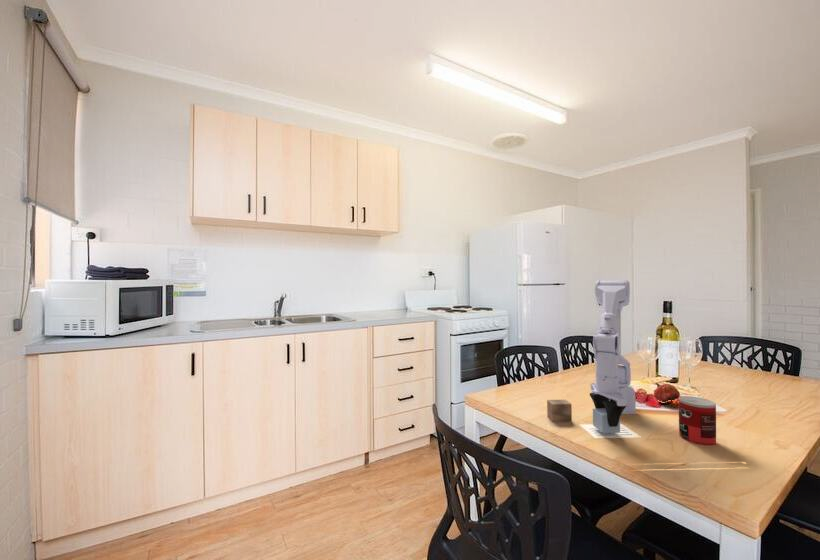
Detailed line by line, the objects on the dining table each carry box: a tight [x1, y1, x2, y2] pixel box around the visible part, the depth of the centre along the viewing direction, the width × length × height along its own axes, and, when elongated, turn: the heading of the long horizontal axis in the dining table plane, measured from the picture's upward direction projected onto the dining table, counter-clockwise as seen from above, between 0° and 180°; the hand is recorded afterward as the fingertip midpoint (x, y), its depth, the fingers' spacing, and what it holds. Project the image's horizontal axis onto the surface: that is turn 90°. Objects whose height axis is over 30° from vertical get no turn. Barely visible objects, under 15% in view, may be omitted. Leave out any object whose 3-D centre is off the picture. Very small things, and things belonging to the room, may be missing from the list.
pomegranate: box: [653, 382, 681, 403], centre depth 124 cm, size 7×7×10 cm
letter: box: [579, 423, 641, 439], centre depth 103 cm, size 13×9×1 cm
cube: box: [592, 408, 621, 433], centre depth 101 cm, size 5×5×5 cm
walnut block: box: [546, 399, 573, 423], centre depth 111 cm, size 6×4×6 cm, turn 91°
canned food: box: [678, 395, 717, 446], centre depth 97 cm, size 8×8×11 cm
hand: (607, 422), depth 102 cm, fingers closed on cube, 5 cm apart
